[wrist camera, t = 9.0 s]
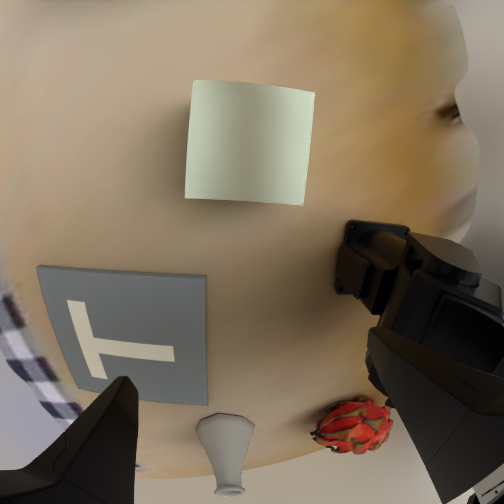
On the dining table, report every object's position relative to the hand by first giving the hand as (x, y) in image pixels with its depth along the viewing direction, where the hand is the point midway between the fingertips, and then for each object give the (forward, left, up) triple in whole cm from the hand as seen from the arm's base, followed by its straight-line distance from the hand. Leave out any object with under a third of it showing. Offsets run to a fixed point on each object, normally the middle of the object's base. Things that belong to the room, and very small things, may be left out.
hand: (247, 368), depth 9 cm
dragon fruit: (-16, +23, -13) cm, 31 cm away
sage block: (0, -7, -13) cm, 15 cm away
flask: (0, +25, -13) cm, 28 cm away
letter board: (+10, +11, -13) cm, 19 cm away
